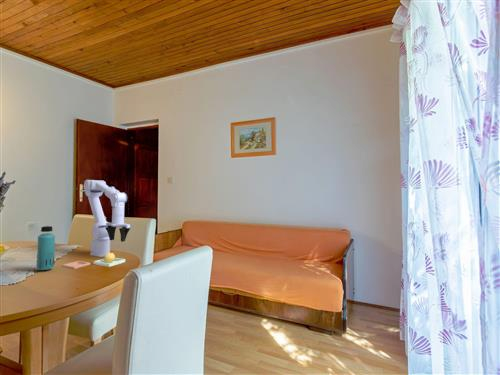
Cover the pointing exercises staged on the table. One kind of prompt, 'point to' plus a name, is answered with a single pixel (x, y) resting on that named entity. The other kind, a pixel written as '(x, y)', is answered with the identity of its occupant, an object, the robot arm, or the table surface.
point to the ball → (109, 257)
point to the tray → (103, 263)
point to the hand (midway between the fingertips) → (117, 240)
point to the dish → (76, 264)
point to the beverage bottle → (45, 249)
